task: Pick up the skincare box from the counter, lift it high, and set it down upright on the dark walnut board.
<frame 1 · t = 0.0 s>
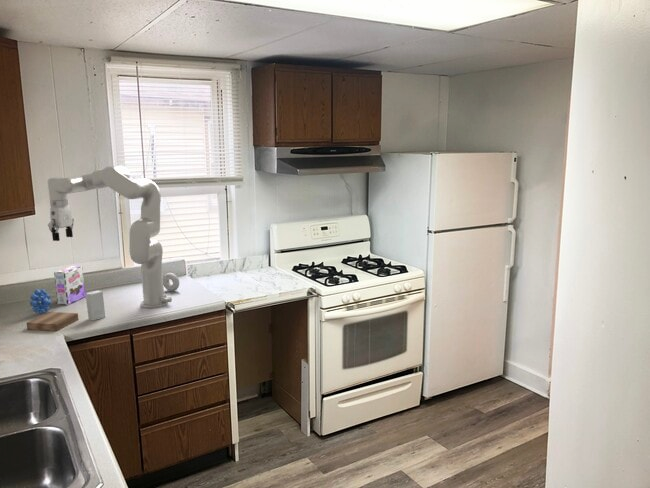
hand: (63, 238, 252), 31 cm above the countertop, tool pointing down, fingers open, 9 cm apart
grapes: (44, 314, 238), on the countertop
skincare box: (96, 318, 232), on the countertop
walnut board: (53, 324, 224), on the countertop
candy box: (72, 301, 258), on the countertop
donut: (171, 291, 272), on the countertop
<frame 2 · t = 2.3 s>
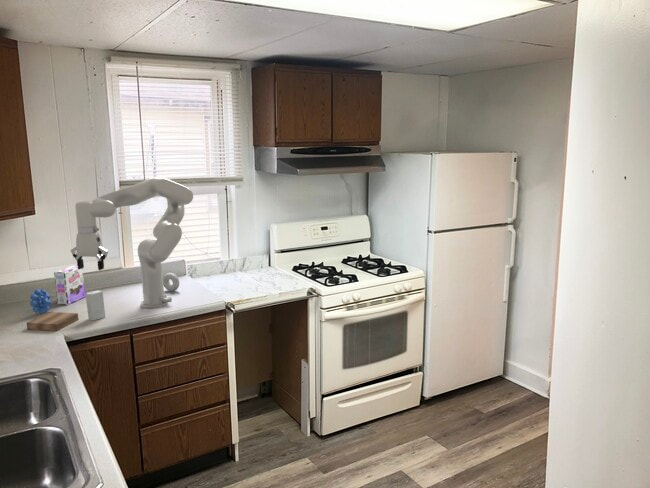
hand: (91, 269, 227), 23 cm above the countertop, tool pointing down, fingers open, 9 cm apart
nothing on the countertop moved.
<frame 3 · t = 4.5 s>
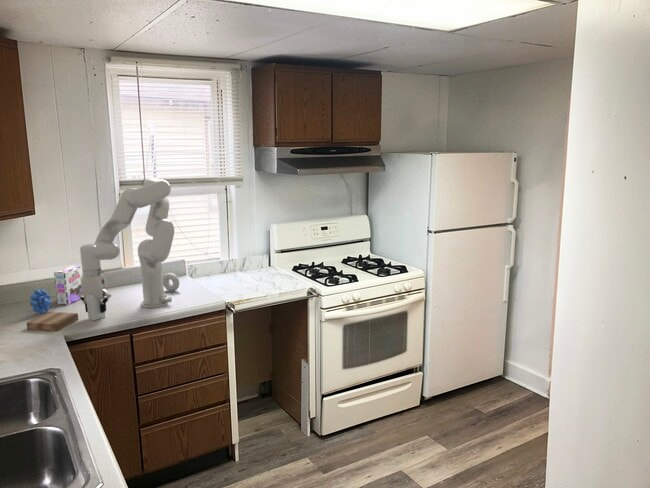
hand: (96, 311, 231), 3 cm above the countertop, tool pointing down, fingers closed on skincare box, 6 cm apart
skincare box: (96, 318, 232), on the countertop, touching gripper
everything else where it was.
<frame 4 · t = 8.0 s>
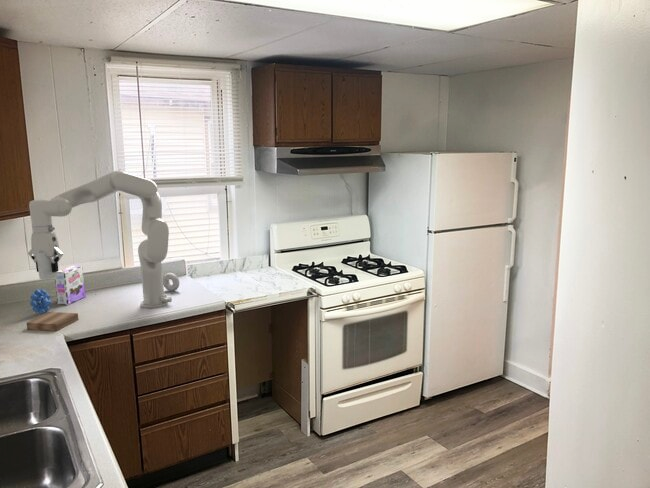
hand: (47, 271, 220), 24 cm above the countertop, tool pointing down, fingers closed on skincare box, 6 cm apart
skincare box: (48, 278, 220), point 20 cm above the countertop, touching gripper
everything else where it was.
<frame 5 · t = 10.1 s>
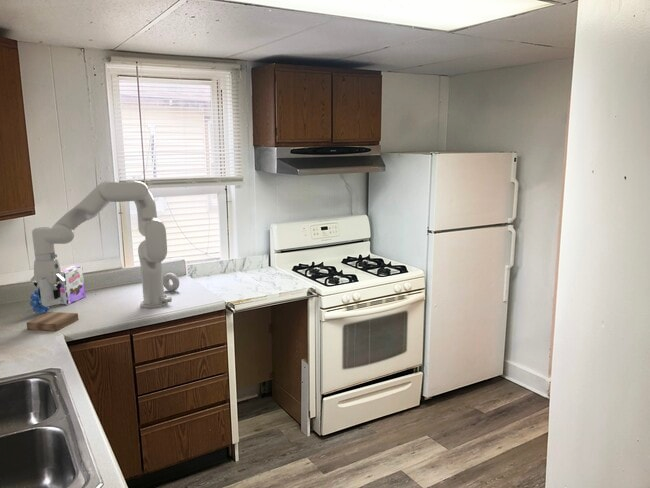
hand: (49, 297, 222), 12 cm above the countertop, tool pointing down, fingers closed on skincare box, 6 cm apart
skincare box: (50, 305, 223), point 9 cm above the countertop, touching gripper
everything else where it was.
when the fingers open (7 cm above the countertop, at t = 11.7 s): skincare box stays where it is, resting on walnut board.
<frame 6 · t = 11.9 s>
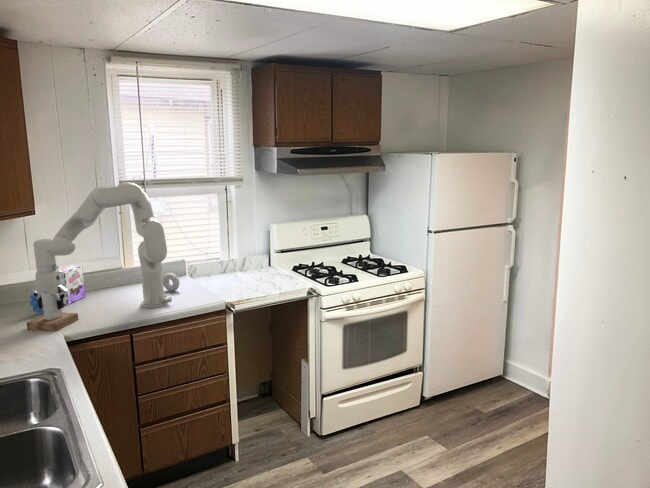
hand: (51, 307, 223), 8 cm above the countertop, tool pointing down, fingers open, 8 cm apart
skincare box: (53, 318, 224), point 3 cm above the countertop, touching walnut board
everything else where it was.
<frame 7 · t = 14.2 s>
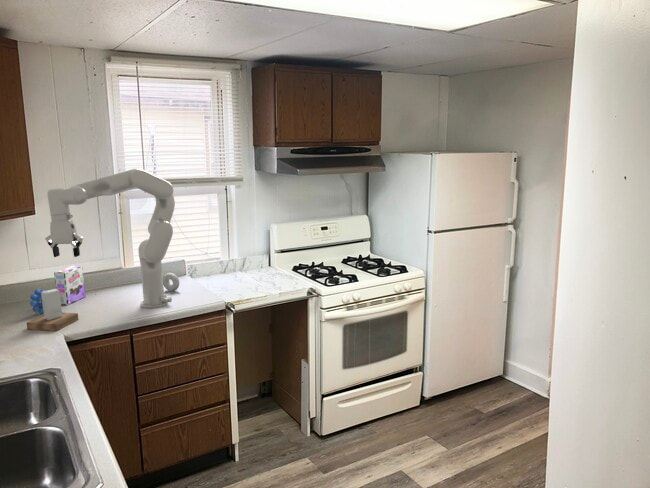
hand: (66, 256, 227), 28 cm above the countertop, tool pointing down, fingers open, 9 cm apart
nothing on the countertop moved.
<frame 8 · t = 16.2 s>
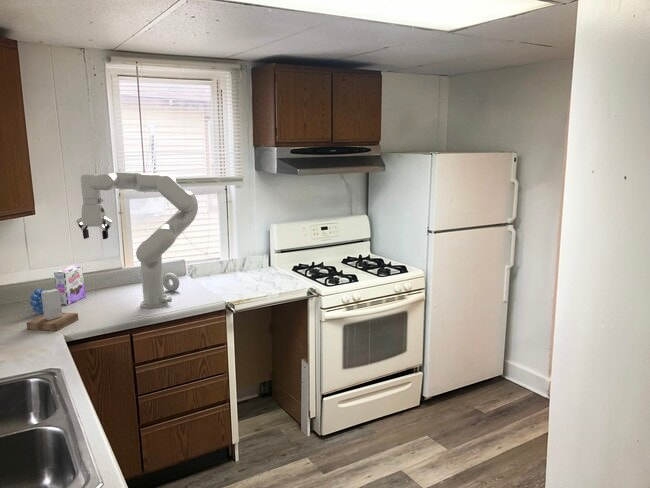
hand: (95, 238, 240), 33 cm above the countertop, tool pointing down, fingers open, 9 cm apart
nothing on the countertop moved.
at the end: skincare box inside the target area on the walnut board (0.3 cm from its centre), point 2.8 cm above the walnut board's base; skincare box tilted 0°; the gripper is holding nothing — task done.
